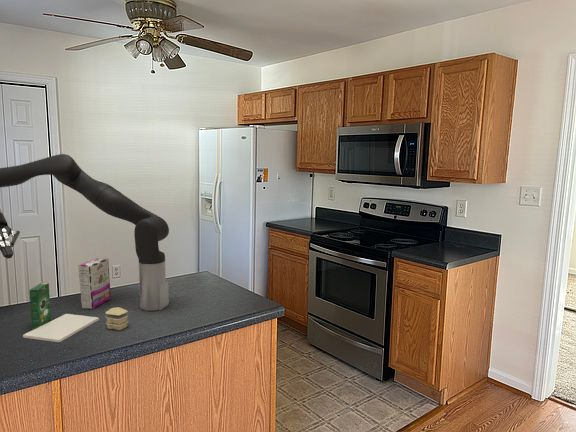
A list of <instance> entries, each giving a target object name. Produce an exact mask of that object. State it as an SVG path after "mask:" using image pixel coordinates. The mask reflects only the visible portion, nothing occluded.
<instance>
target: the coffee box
mask: <svg viewBox="0 0 576 432" xmlns="http://www.w3.org/2000/svg"><path fill="white" fill-rule="evenodd" d="M49 284H50V283H49V282H41V283H39V284H37V285H35V286H34V287H32V288H30V289H29V290H28V291H29V304H30V307H29V308H30V319H31V320H30V322H31V330H34V329H36V328H38V327H40V326H42V325H44V324H46V323H48V322H50V321H52V320H51V319H52V313H51V312H52V311H51V297H50V296H51V295H50V285H49Z"/></svg>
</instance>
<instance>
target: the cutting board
mask: <svg viewBox="0 0 576 432" xmlns="http://www.w3.org/2000/svg"><path fill="white" fill-rule="evenodd" d="M98 321H100V317H97V316H89V315H81V314H72V313H64V314H62V315H61V316H59V317H57V318H55V319H53V320H50V321H49V322H47V323H46V324H44V325H42V326H40V327H38V328H36V329H31V330H30V331H28V332H26V333H23V335H22V338H25V339H31V340H37V341H45V342H52V343H61V342H62V341H65V340H66V339H68V338H70V337H71V336H73V335H76V334H77V333H79V332H81V331H82V330H84V329H85V328H87V327H89V326H91V325H93V324H94V323H96V322H98Z"/></svg>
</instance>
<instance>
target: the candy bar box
mask: <svg viewBox="0 0 576 432" xmlns="http://www.w3.org/2000/svg"><path fill="white" fill-rule="evenodd" d="M78 277H79V288H80V289H79V290H80V301H81V303H80V304H81V308H82V309H86V310H93V309H94V310H95V309H96V308H97V307H98V308H99V306H101V305H103V304H105V303H106V302H108V301H110V300H111V299H112V297H111V282H110V281H111V280H110V266H109V257H108V258H106V257H96V258H94V259H91V260H88V261H85V262H84V263H81V264H78Z"/></svg>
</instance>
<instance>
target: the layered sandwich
mask: <svg viewBox="0 0 576 432" xmlns="http://www.w3.org/2000/svg"><path fill="white" fill-rule="evenodd" d="M128 312H129V311H128V310H127V309H124V308H122V307H118V306H117V307H111V308H110V309H108V310H107V311H105V312H104V313H105V314H106V315H105V319H106V322H105V324H106V325H107V329H108V330H117V331H122V330H123V329H126V328H128V323H129V320H128V317H129V314H127V313H128Z"/></svg>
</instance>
